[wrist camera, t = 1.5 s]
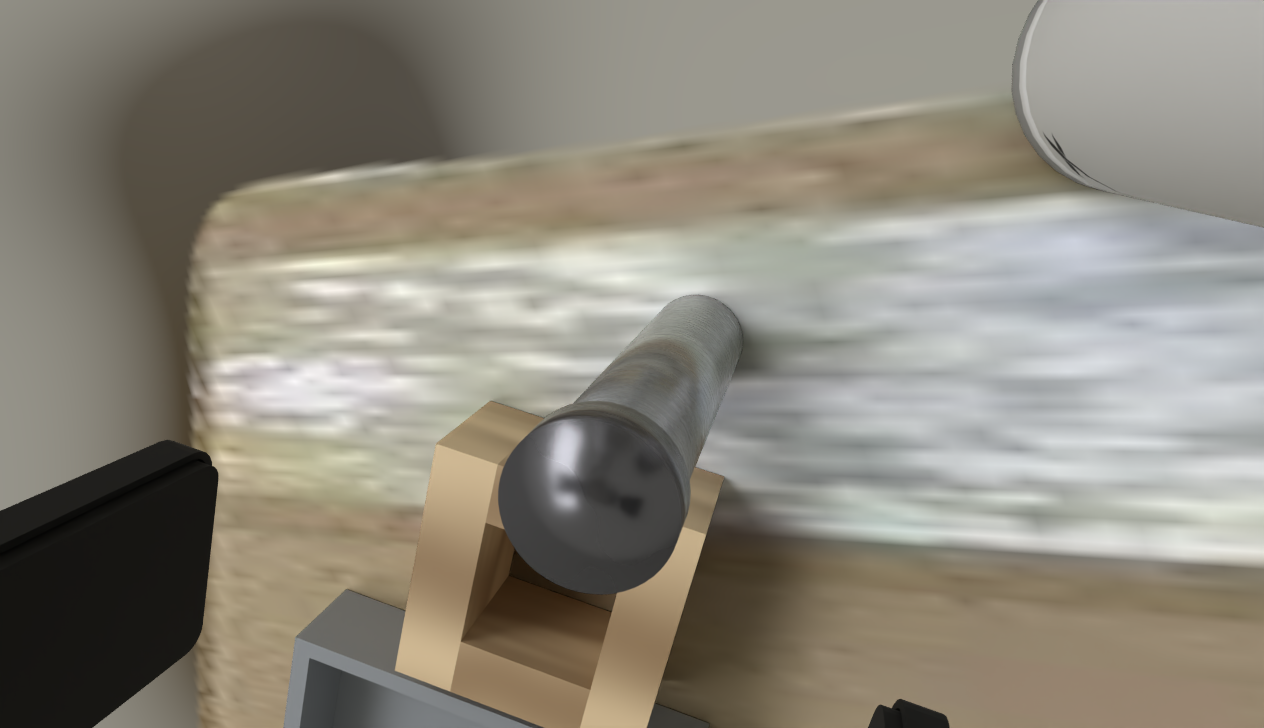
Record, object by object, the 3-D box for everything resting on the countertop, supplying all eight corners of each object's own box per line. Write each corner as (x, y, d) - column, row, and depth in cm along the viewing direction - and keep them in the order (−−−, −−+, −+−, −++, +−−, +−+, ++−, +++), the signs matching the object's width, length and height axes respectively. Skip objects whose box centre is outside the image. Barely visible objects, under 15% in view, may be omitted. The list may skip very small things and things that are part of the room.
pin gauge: (659, 275, 25) (517, 394, 14) (762, 305, 25) (702, 454, 13) (633, 372, 26) (482, 558, 15) (732, 403, 26) (654, 619, 14)
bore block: (490, 400, 27) (436, 443, 24) (724, 476, 26) (706, 534, 23) (449, 602, 30) (394, 670, 26) (661, 680, 29) (636, 762, 25)
